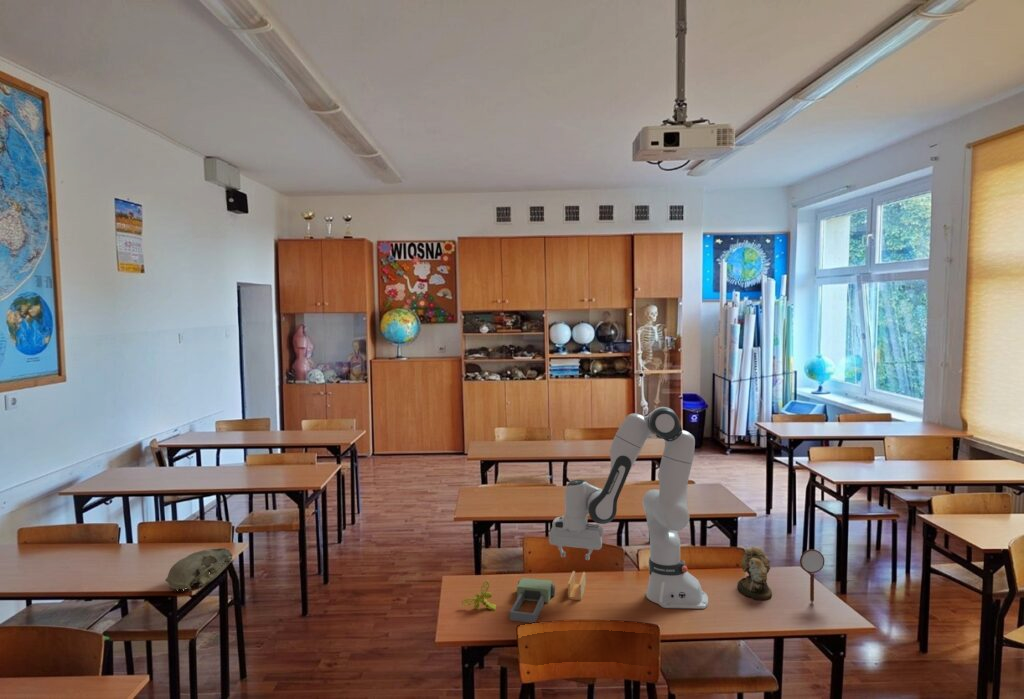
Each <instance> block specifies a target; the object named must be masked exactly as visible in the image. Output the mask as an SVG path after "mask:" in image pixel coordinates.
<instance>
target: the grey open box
mask: <svg viewBox="0 0 1024 699" xmlns="http://www.w3.org/2000/svg"><path fill="white" fill-rule="evenodd" d="M555 595H556V585H555V584H553V580H548V579H538V578H537V579H536V578H528V577H521V579H520V581H518V584H517V586H516V600H515V602H514V604H513V605H512V607H511V609H510V611H509V621H512V622H513V621H514V622H521V623H531V624H533V623H532V622H535V623H536V622H537V619H538V617H539V616H540V613H541V611H542V608H543V607H544V605H545V603H547V604H549V602H550V600H551V598H552V597H554V596H555ZM526 600H527V602H535V601H537V602H536V605H535V607H534V610H533V612H526V611H519V610H520V608H521V605H522V604H523V602H524V601H526ZM544 602H545V603H544Z"/></svg>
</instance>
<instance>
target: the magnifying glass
mask: <svg viewBox="0 0 1024 699" xmlns="http://www.w3.org/2000/svg"><path fill="white" fill-rule="evenodd" d="M799 564H800V567H801V568H802V569H803V570H804V571H805V572H807V573H809V575H810V577H809V578H810V580H809V584H810V586H809V587H810V588H809V591H810V593H809V596H810V597H809V600H810V603H811V604H813V603H814V601H815V585H814V584H815V573H818V572H820V571H821V570H822V569H823V568H824V565H825V558H824V555H823V553H821V551H819V550H817V549H807V550H804V552H803V553H802V554H801V556H800V559H799Z"/></svg>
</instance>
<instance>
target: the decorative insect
mask: <svg viewBox="0 0 1024 699" xmlns="http://www.w3.org/2000/svg"><path fill="white" fill-rule="evenodd" d="M483 588H484V589H483ZM489 588H490V581H489V580H485V581H484V582H483V583H482V586H481V590H480V593H479V592H477V593H476V594H474V595H475V597H466V598H465V599H463V600H462V602H461V604H462V605H463V606H471V605H473V604H474V605H473V607H474V609H475V610H478V609H479V608H480V605H481V604H482V606H485V608H488V609H489V610H492V611H495V610H496V607H497V604H495V603H490V602H489V601H488V599H492V597H493V593H491V592H489V591H488V590H489ZM480 603H481V604H480Z"/></svg>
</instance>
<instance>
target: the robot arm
mask: <svg viewBox="0 0 1024 699" xmlns="http://www.w3.org/2000/svg"><path fill="white" fill-rule="evenodd" d="M651 435H656V436H657V437H659V438H661V439H663V441H664V449H663V452H662V456H661V460H660V465H659V469H658V472H657V477H658V485H659V486H658V487H659V489H656V488H655V489H654V488H653V489H650V490H648V491H646V492H645V493H644V495H643V497H642V501H641V502H642V507H643V509H644V512H645V517H646V524H647V529H648V533H649V545H650V546H649V553H650V554H649V555H650V556H649V558H648V559H649V560H648V572H649V579H648V586H647V590H646V593H645V595H646V598H647V599H648V600H649V601H651V602H653V603H655V604H658V605H659V606H660V607H662V608H664V609H706V608H707V607H708V606H709V597H708V594H707V593H706V592H705V591H703V589H702V586H701V584H700V581H699V580H698V578H696V577H695V576H694V575H692V574H691V573H690V572H689V571H688V567H687V564H686V561H685V560H682V559H681V539H680V536H679V533H678V531H682V530H684V529H685V528H686V527H687V526H688V524H689V522H690V512H689V508H688V483H689V478H690V473H691V470H692V467H693V466H692V464H693V461H694V456H695V449H696V448H695V446H696V439H695V436H694V435H693V434H692V433H690V432H689V431H687V430H684V429H682V425H681V421H680V419H679V416H678V415H677V413H676V412H675V411H674V410H673V409H672V408H670V407H667V406H659V407H656V408H654V409H653V410H650V411H649V412H648V413H646V414H645V415H642V414H640V413H634V412H633V413H630V414H628V415H627V416H626V417H625V418H624V419H623V421H622V423H621V424H620V426H619V428H618V429H617V431H616V433H615V435H614V438H613V440H612V442H611V445H610V449H609V456H610V469H609V474H608V475H607V478H606V481H605V483H604V485H603V488H601V487H597V486H595V485H592V484H590V483H588V482H587V481H586V480H584V479H573V480H571V481H569V482H568V483H567V484H566V486H565V489H564V490H565V492H564V507H565V508H564V509H565V511H564V515H561V516H557V517H555V518H554V519H553V521H552V523H551V524H552V526H551V528H550V531H549V535H548V536H549V538H548V542H549V544H550V545H551V546H557V548H558V551H559V552H560V557H561V558H565V557H566V551H564V549H563V547H569V548H577V549H587V551H588V553H585V555H584V557H585V558H584V560H586V561H590V558H591V557H590V556H591V554H592V553H593V550H595V551H596V550H597V551H599V550H601V549H602V546H603V539H602V537H603V535H604V530H603V527H602V526H601V525H606V524H609V523H610V522H612V521H613V520H614V519H615V517H616V516H617V515H616V514H617V510H618V509H617V508H618V499H619V496H620V495H621V492H622V490H623V487H624V485H625V484H626V483H625V482H626V480H627V477H628V476H629V473H630V471H631V469H632V467H633V466H634V464H635V462H636V460H637V459H638V457H639V454H640V453H641V451H642V449H643V447H644V444H645V443H646V440H647V439H648V438H649V437H651ZM588 515H589V517H590V519H591V520H592V521H593V522H595V523H597V524H594V523H588Z"/></svg>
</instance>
